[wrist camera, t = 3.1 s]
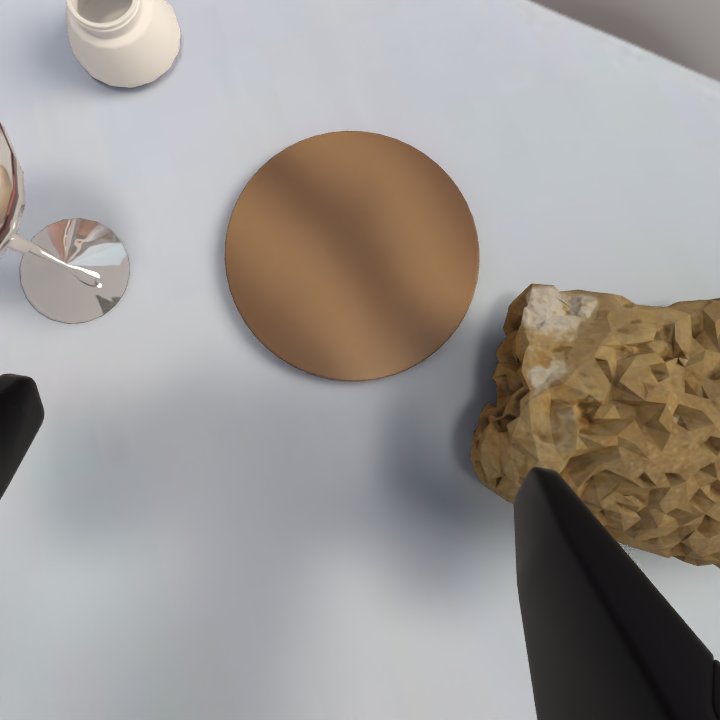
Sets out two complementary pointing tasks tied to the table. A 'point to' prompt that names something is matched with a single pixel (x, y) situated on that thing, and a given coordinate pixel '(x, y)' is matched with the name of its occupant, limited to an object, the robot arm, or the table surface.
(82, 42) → the lidless jar
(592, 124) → the table surface
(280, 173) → the coaster
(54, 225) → the wineglass
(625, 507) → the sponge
